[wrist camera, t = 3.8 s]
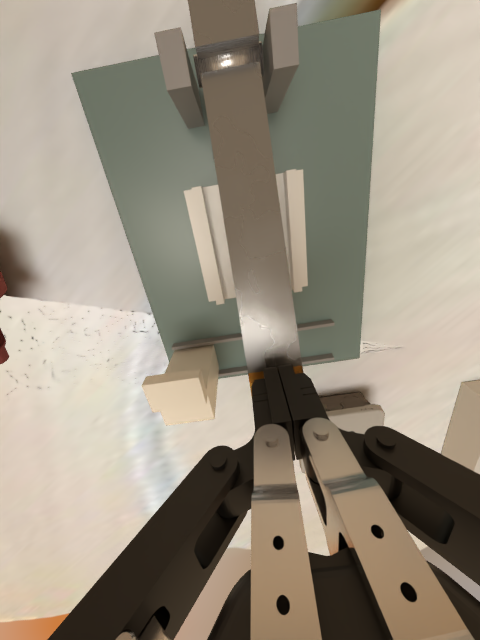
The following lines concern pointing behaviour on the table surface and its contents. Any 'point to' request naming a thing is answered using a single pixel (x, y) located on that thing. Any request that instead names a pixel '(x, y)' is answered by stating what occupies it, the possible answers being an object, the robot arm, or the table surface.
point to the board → (190, 163)
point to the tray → (465, 428)
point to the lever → (246, 179)
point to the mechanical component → (0, 350)
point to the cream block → (185, 386)
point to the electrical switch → (351, 414)
